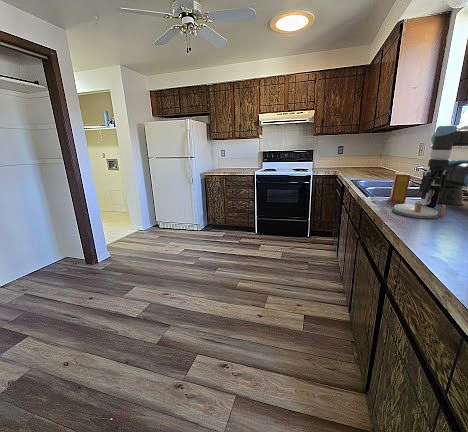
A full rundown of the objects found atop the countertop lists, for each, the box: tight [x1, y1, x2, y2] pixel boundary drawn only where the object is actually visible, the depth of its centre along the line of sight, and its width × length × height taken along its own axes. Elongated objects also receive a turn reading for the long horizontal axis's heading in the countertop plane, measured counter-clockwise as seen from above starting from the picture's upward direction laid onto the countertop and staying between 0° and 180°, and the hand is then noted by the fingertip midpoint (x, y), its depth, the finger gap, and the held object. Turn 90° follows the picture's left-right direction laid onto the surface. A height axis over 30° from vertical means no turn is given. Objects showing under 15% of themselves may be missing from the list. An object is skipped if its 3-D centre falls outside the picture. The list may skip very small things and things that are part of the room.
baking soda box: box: [389, 171, 412, 204], centre depth 138 cm, size 10×6×16 cm
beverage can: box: [422, 182, 441, 209], centre depth 125 cm, size 7×7×12 cm
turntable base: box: [392, 204, 447, 220], centre depth 114 cm, size 18×20×6 cm
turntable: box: [393, 200, 440, 217], centre depth 115 cm, size 17×17×5 cm
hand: (428, 204), depth 126 cm, fingers closed on beverage can, 6 cm apart
